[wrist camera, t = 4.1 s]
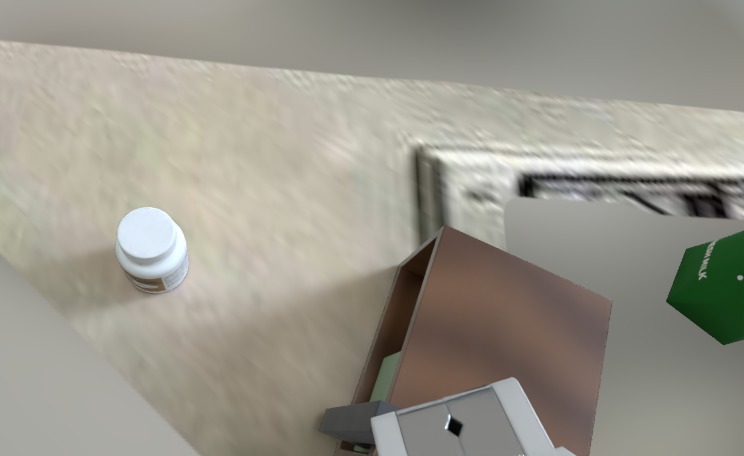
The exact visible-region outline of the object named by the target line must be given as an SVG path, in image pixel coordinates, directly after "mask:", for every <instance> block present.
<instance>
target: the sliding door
mask: <svg viewBox="0 0 744 456" xmlns="http://www.w3.org/2000/svg"><path fill="white" fill-rule="evenodd" d="M400 353H401V351H400V352H398V353H395V354H393V355H390V356H388V357H386V358H384V359H383V362H382V365H381V368H380V371H379V374H378V377H377V380H376V383H375V386H374V389H373V392H372V395H371V398H370V401H369V402H366V403H360V404H354V405H348V406H342V407H336V408H330V409H326V411H325V413H324V416H323V419H322V422H321V424H320V427H319V431H320V432H322V433H325V434H328V435H330V436H333V437H335V438H338V439H341V440H343V441H346V442H348V443H351V444H353V445H355V447H354V451H355V452H360V453H365V454H369V450H370V447H371V444H375V439H374V435H373V431H372V426H371V418H373V417H376V416H380V415H383V414H387V413H390V412H394V411H395V413H396V411H398V410H402V408H399V407H397V406H394V405H392V404H389V403H387V402H385V400H386V397H387V394H388V391H389V387H390V384H391V381H392V378H393V375H394V372H395V369H396V365H397V362H398V359H399V356H400ZM396 416H397V415H396ZM397 420H398V419H397Z"/></svg>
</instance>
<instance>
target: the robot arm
mask: <svg viewBox="0 0 744 456" xmlns="http://www.w3.org/2000/svg"><path fill="white" fill-rule="evenodd" d="M396 415H397V416H396ZM397 419H398V420H397ZM371 426H372V431H373V435H374V439H375V444H376V448H377V452H378V456H576V455H574V454H573V453H571V452H570V451H568V450H567V449H565V448H564V447H558V448H554V446H553V444H552V442H551V441H550V439H549V437H548V435H547V433H546V431H545V430H544V428H543V426H542V424H541V422H540V420H539V419H538V417H537V415H536V413H535V411H534V409H533V408H532V406H531V404H530V402H529V400H528V398H527V397H526V395H525V393H524V391H523V389H522V387H521V386H520V384H519V382H518V381H517V380H516V379H515V378H514V377H511V378H508V379H504V380H501V381H498V382H495V383H492V384H485V385H482V386H479V387H475V388H472V389H469V390H466V391H462V392H459V393H456V394H453V395H449V396H446V397H443V398H442V399H439V400H435V401H431V402H428V403H424V404H420V405H417V406H413V407H409V408H405V409H402V410H398V411H396V413H395V411H394V412H390V413H387V414H383V415H380V416H376V417H373V418H371Z"/></svg>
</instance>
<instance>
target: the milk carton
mask: <svg viewBox="0 0 744 456" xmlns="http://www.w3.org/2000/svg"><path fill="white" fill-rule="evenodd" d="M666 302H667V303H669V304H670V305H671V306H673V307H674V308H675V309H676V310H678V311H679V312H680V313H682V314H683V315H684V316H686V317H687V318H688V319H690V320H691V321H692V322H694V323H695V324H696V325H698V326H699V327H700V328H701V329H703V330H704V331H705V332H707V333H708V334H709V335H711V336H712V337H714V338H715V339H716V340H717V341H719V342H720V343H721V344H723V345H726V344H729V343H733V342H737V341H740V340H744V231H742V232H739V233H736V234H733V235H731V236H728V237H725V238H722V239H718V240H715V241H712V242H708V243H705V244H701V245H698V246H694V247H691V248H688V249H686V251H685V254H684V256H683V259H682V261H681V264H680V267H679V269H678V272H677V274H676V277H675V279H674V282H673V285H672V287H671V290H670V292H669V295H668V298H667V300H666Z"/></svg>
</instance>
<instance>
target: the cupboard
mask: <svg viewBox="0 0 744 456" xmlns="http://www.w3.org/2000/svg"><path fill="white" fill-rule="evenodd" d="M611 307H612V300H611V299H609V298H606V297H604V296H602V295H600V294H597V293H595V292H593V291H590V290H589V289H586V288H584V287H582V286H580V285H578V284H575V283H573V282H571V281H569V280H567V279H564V278H562V277H560V276H558V275H555V274H553V273H551V272H549V271H547V270H544V269H542V268H540V267H538V266H536V265H533V264H531V263H529V262H527V261H524V260H522V259H520V258H518V257H516V256H513V255H511V254H509V253H507V252H505V251H502V250H500V249H498V248H496V247H494V246H491V245H489V244H487V243H485V242H482V241H480V240H478V239H476V238H474V237H471V236H469V235H467V234H465V233H463V232H460V231H458V230H456V229H454V228H451V227H449V226H447V225H444V226H443V227H442V228H441V229H440V230H438V231H437V232H436V233H435V234H434V235H433V236H431V237H430V238H429V239H428V240H427V241H426V242H425V243H424V244H422V245H421V246H420V247H419V248H418V249H417V250H416V251H414V252H413V253H412V254H411V255H410V256H409V257H408V258H406V259H405V260H404V261H403V262H402V263H401V264H400V265H399V267H398V270H397V273H396V276H395V279H394V282H393V285H392V288H391V291H390V293H389V296H388V299H387V302H386V305H385V308H384V311H383V314H382V317H381V320H380V323H379V326H378V328H377V331H376V334H375V337H374V340H373V343H372V346H371V349H370V352H369V355H368V358H367V361H366V363H365V366H364V369H363V372H362V375H361V378H360V381H359V384H358V387H357V390H356V393H355V395H354V398H353V401H352V404H351V405H354V404H360V403H366V402H369V401H370V398H371V395H372V392H373V389H374V386H375V383H376V380H377V377H378V374H379V371H380V368H381V365H382V362H383V359H384V358H386V357H388V356H390V355H393V354H395V353H398V352H400V351H401V353H400V356H399V359H398V362H397V365H396V369H395V372H394V375H393V378H392V381H391V384H390V387H389V391H388V394H387V397H386V400H385V402H387V403H389V404H392V405H394V406H397V407H399V408H402V409H405V408H409V407H413V406H417V405H420V404H424V403H428V402H431V401H435V400H439V399H442V398H443V397H446V396H449V395H453V394H456V393H459V392H462V391H466V390H469V389H472V388H475V387H479V386H482V385H485V384H492V383H495V382H498V381H501V380H504V379H508V378H511V377H514V378H515V379H516V380H517V381H518V382H519V384H520V386H521V387H522V389H523V391H524V393H525V395H526V397H527V398H528V400H529V402H530V404H531V406H532V408H533V409H534V411H535V413H536V415H537V417H538V419H539V420H540V422H541V424H542V426H543V428H544V430H545V431H546V433H547V435H548V437H549V439H550V441H551V442H552V444H553V446H554V448H558V447H564V448H565V449H567V450H568V451H570V452H571V453H573V454H574V455H576V456H589V454H590V447H591V440H592V434H593V427H594V420H595V413H596V407H597V400H598V393H599V387H600V381H601V374H602V367H603V360H604V354H605V347H606V340H607V334H608V327H609V320H610V314H611ZM354 447H355V445H353V444H351V443H348V442H346V441H343V440H341V439H339V442H338V445H337V448H336V451H335V454H334V456H378V452H377V448H376V444H371V447H370V450H369V454H365V453H360V452H355V451H354Z"/></svg>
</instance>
